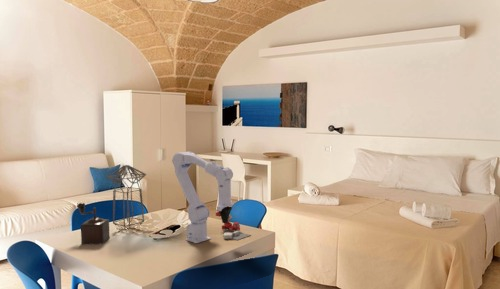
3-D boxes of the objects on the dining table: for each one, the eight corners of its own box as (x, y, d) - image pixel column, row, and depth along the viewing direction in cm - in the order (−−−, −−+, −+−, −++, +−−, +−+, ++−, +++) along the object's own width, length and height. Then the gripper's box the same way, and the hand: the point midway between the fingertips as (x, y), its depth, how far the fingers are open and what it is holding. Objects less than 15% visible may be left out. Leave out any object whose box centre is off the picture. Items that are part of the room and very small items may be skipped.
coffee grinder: (111, 237, 202) (109, 201, 200) (102, 244, 191) (101, 206, 189) (80, 237, 202) (79, 201, 201) (70, 244, 191) (68, 206, 190)
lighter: (223, 235, 197) (225, 230, 205) (223, 238, 197) (225, 233, 205) (237, 235, 196) (239, 230, 204) (237, 238, 196) (239, 233, 204)
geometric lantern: (150, 229, 215) (148, 164, 212) (126, 236, 202) (124, 167, 199) (130, 224, 224) (128, 162, 221) (106, 231, 210) (104, 165, 208)
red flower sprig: (237, 232, 207) (236, 213, 206) (216, 229, 214) (215, 211, 213) (241, 230, 209) (240, 212, 209) (219, 228, 217) (219, 210, 216)
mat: (237, 240, 195) (237, 239, 195) (222, 236, 202) (222, 235, 202) (250, 235, 202) (250, 235, 202) (236, 231, 209) (236, 231, 209)
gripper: (226, 197, 179) (227, 227, 180) (238, 191, 193) (238, 219, 194) (212, 196, 181) (212, 226, 182) (224, 190, 195) (224, 218, 196)
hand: (225, 222), depth 188 cm, fingers closed
